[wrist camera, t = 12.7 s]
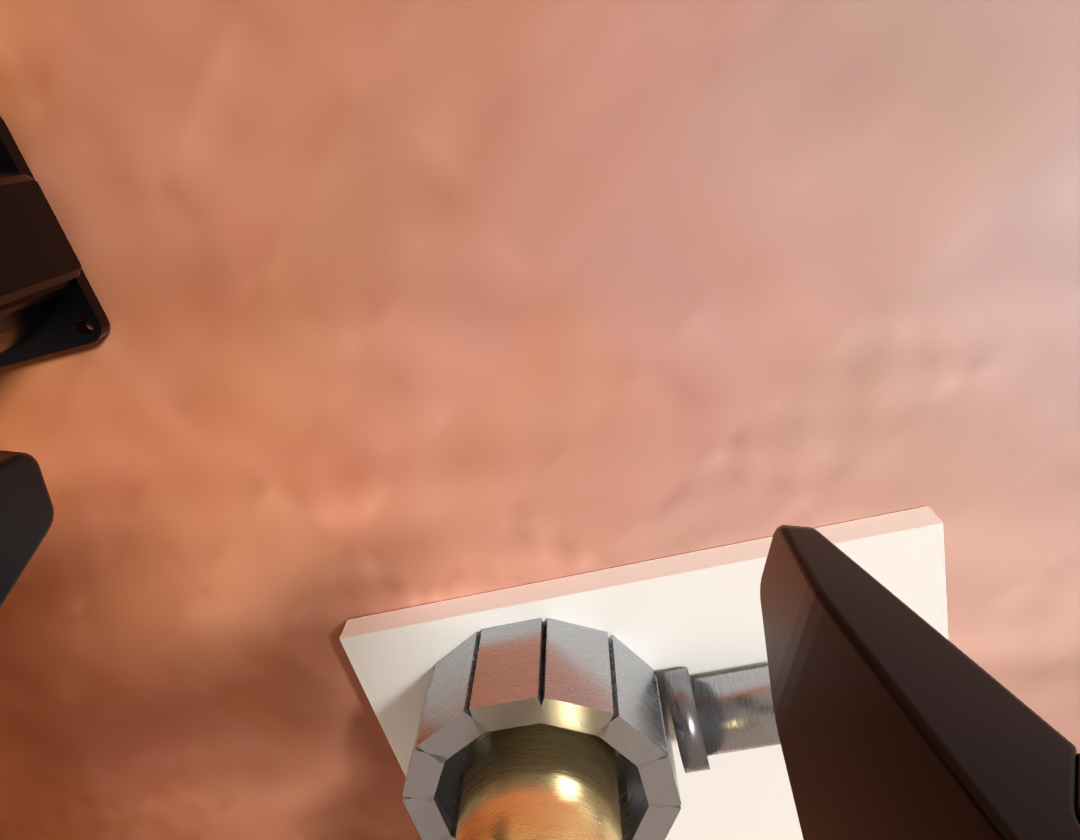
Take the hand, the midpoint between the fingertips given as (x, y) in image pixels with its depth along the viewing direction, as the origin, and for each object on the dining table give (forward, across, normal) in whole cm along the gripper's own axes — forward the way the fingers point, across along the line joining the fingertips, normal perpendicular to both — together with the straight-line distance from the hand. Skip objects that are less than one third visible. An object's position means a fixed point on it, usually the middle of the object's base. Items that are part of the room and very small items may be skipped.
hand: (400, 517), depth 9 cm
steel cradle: (+11, -7, +19) cm, 23 cm away
